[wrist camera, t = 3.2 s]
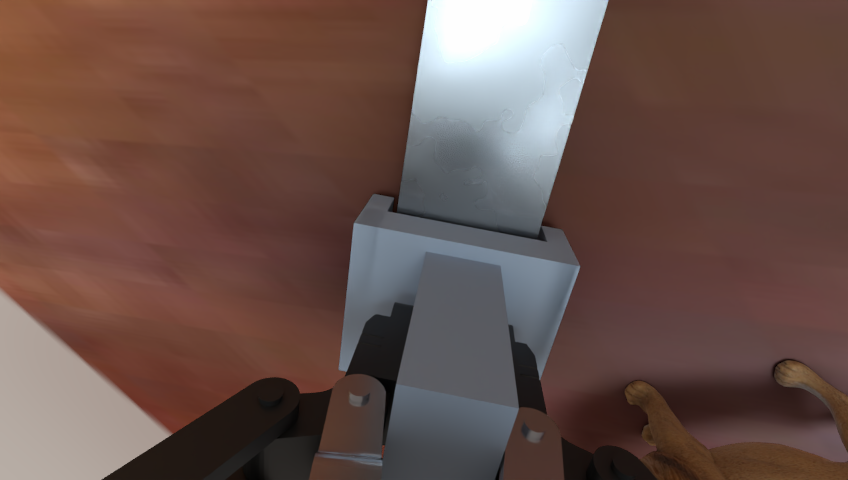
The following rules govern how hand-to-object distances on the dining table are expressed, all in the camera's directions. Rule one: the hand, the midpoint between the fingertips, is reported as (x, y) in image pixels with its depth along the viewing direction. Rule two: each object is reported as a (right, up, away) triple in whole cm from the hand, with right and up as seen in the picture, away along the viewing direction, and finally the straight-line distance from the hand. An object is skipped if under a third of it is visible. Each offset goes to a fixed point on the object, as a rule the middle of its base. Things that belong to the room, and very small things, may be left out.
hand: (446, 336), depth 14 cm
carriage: (+1, +2, +4) cm, 5 cm away
